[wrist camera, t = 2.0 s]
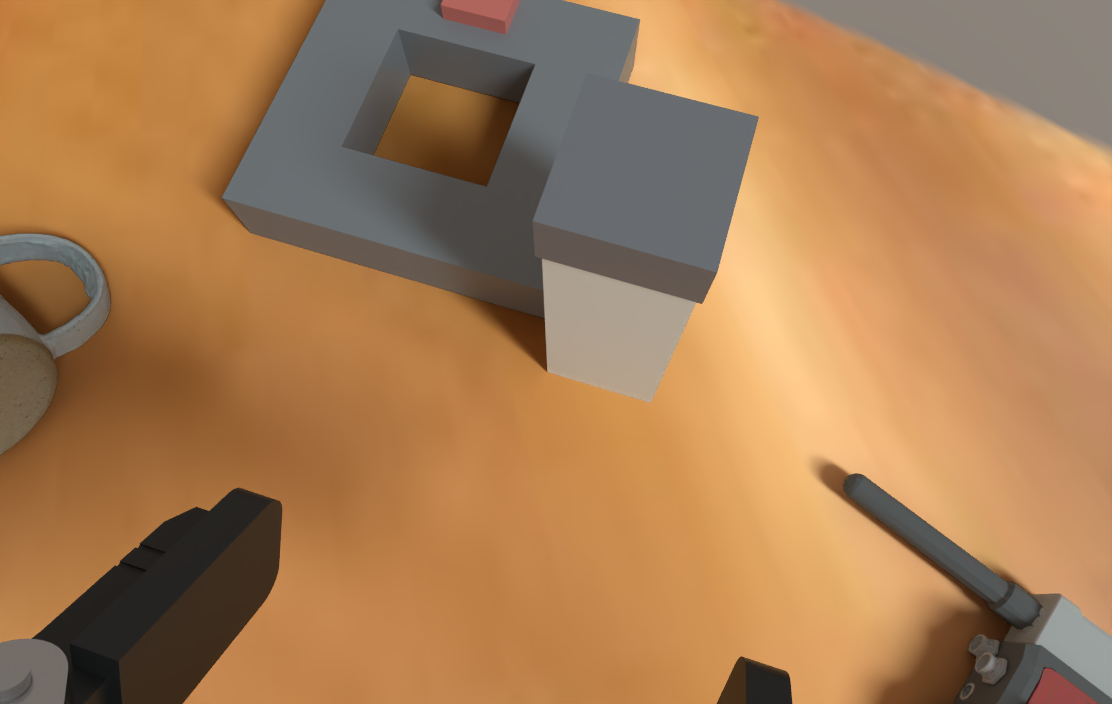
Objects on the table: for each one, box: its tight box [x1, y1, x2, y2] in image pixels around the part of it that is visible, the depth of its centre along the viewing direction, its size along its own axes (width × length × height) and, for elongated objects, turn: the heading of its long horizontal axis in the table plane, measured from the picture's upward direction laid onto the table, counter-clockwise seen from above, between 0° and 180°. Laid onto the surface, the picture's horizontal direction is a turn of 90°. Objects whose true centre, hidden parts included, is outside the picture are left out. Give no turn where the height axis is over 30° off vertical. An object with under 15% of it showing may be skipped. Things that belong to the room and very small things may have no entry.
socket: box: [222, 0, 640, 319], centre depth 33 cm, size 14×14×4 cm
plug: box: [533, 73, 759, 403], centre depth 25 cm, size 5×5×13 cm
